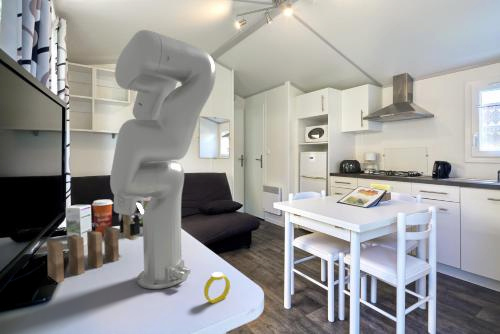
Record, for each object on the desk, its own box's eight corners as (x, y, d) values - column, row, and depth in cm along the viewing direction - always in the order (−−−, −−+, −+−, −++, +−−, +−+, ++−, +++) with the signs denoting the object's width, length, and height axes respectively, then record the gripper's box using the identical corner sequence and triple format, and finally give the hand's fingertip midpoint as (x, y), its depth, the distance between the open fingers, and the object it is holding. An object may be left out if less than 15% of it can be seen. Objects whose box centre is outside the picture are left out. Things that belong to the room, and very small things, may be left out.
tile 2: (102, 266, 74) (101, 232, 74) (97, 268, 73) (96, 234, 73) (93, 262, 77) (92, 230, 76) (88, 264, 75) (87, 231, 75)
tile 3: (84, 272, 70) (83, 237, 70) (78, 275, 69) (77, 239, 68) (75, 268, 73) (74, 234, 72) (69, 270, 71) (68, 236, 71)
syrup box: (92, 241, 96) (91, 204, 95) (80, 247, 90) (79, 207, 89) (79, 241, 96) (77, 204, 96) (66, 246, 91) (65, 207, 90)
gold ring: (224, 294, 59) (226, 269, 59) (231, 299, 57) (232, 273, 57) (201, 301, 55) (203, 274, 55) (207, 307, 53) (209, 279, 53)
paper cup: (93, 237, 101) (92, 203, 101) (92, 232, 108) (91, 200, 107) (114, 234, 105) (114, 201, 105) (113, 229, 112) (112, 198, 111)
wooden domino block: (63, 280, 66) (62, 242, 65) (56, 282, 64) (55, 244, 64) (55, 275, 68) (53, 239, 68) (48, 278, 67) (46, 241, 67)
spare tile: (136, 238, 84) (136, 209, 84) (132, 240, 83) (131, 210, 82) (127, 236, 87) (127, 207, 86) (123, 237, 86) (122, 208, 85)
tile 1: (118, 260, 79) (118, 228, 78) (113, 261, 77) (113, 229, 77) (109, 256, 81) (108, 226, 81) (104, 258, 80) (103, 227, 79)
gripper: (103, 179, 85) (104, 232, 86) (134, 182, 76) (135, 241, 77) (124, 177, 91) (125, 226, 92) (155, 180, 83) (155, 234, 84)
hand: (129, 232), depth 85 cm, fingers closed on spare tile, 4 cm apart
